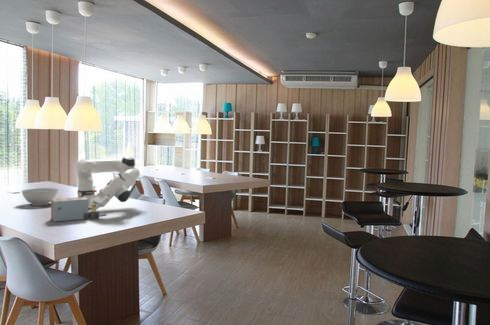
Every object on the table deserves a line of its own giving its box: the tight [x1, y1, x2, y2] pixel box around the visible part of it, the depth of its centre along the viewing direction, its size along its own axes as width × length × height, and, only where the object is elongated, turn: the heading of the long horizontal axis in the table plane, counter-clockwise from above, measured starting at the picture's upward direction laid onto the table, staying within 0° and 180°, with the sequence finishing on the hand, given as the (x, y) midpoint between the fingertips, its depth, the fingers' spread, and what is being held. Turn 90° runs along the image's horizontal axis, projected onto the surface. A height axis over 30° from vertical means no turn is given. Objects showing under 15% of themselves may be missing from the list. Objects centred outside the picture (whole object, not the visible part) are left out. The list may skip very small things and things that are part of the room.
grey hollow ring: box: [83, 210, 100, 220], centre depth 273 cm, size 10×7×4 cm, turn 126°
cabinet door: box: [53, 199, 89, 222], centre depth 265 cm, size 22×3×14 cm, turn 126°
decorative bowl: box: [21, 187, 59, 207], centre depth 322 cm, size 27×27×12 cm
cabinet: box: [50, 196, 87, 222], centre depth 270 cm, size 22×10×14 cm, turn 126°
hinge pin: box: [90, 204, 97, 213], centre depth 274 cm, size 3×3×10 cm
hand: (92, 208), depth 273 cm, fingers open, 8 cm apart
